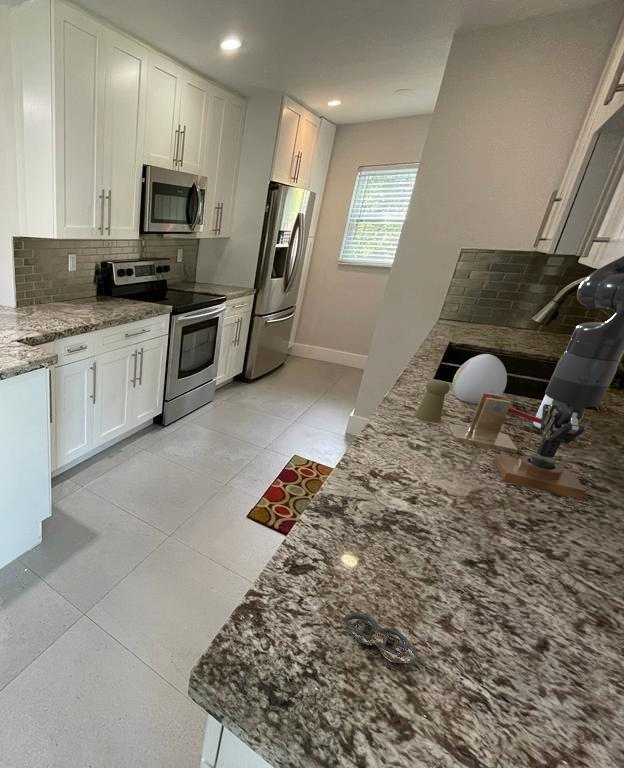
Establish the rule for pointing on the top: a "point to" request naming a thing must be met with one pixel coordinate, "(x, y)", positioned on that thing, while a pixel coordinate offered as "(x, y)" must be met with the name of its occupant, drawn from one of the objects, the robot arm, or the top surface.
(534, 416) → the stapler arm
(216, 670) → the top surface
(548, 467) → the button
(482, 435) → the brass bookend
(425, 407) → the olive pepper shaker
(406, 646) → the corroded twin loop
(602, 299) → the robot arm
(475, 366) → the decorative egg
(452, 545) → the top surface
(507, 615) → the top surface
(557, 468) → the button block
